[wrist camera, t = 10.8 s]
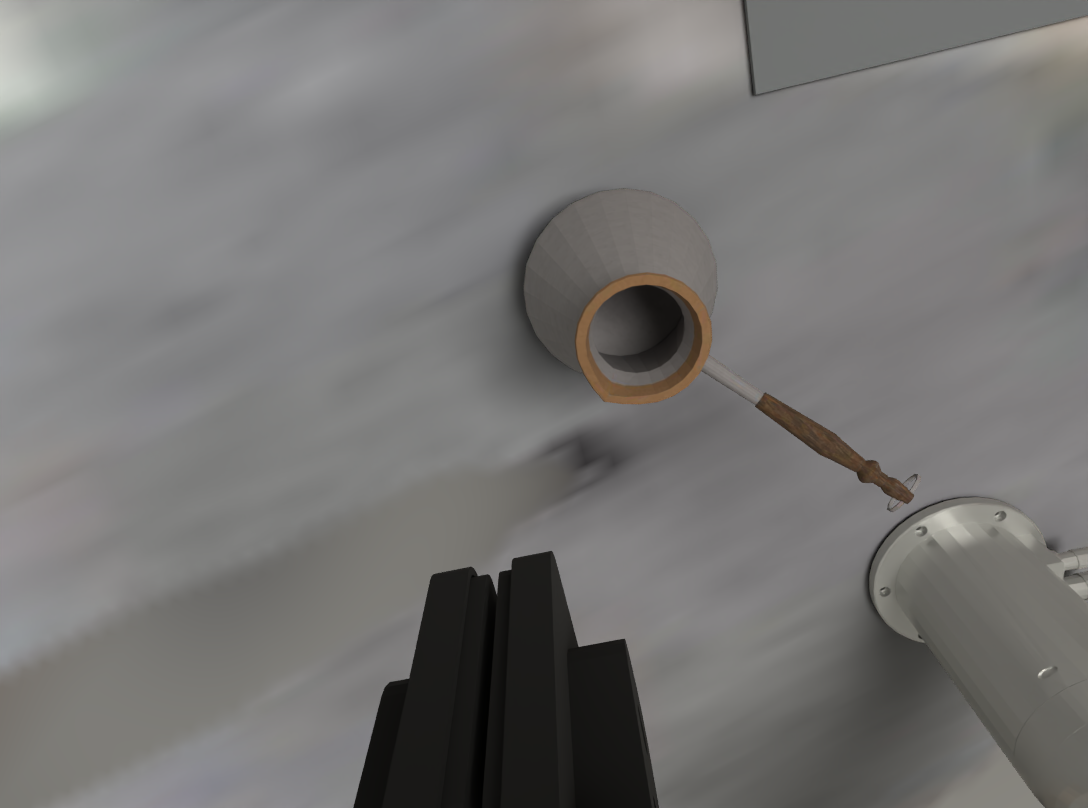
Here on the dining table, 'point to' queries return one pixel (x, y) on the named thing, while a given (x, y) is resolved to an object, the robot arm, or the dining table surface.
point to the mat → (877, 32)
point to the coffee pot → (649, 312)
